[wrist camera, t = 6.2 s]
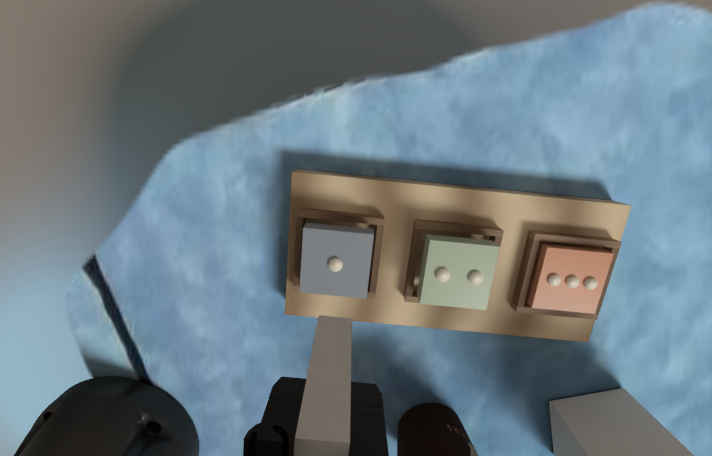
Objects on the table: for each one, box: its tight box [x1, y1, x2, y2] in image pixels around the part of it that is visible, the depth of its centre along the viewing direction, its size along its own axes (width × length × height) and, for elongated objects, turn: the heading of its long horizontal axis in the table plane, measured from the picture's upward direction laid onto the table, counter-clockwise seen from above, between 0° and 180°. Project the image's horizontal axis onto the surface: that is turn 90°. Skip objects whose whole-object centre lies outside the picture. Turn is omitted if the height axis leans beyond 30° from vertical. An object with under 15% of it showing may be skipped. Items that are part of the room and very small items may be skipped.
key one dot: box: [299, 222, 374, 299], centre depth 25 cm, size 5×5×2 cm
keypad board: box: [285, 169, 632, 342], centre depth 28 cm, size 26×12×3 cm, turn 84°
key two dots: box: [417, 234, 500, 310], centre depth 25 cm, size 5×5×2 cm
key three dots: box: [525, 242, 614, 314], centre depth 27 cm, size 5×5×2 cm
